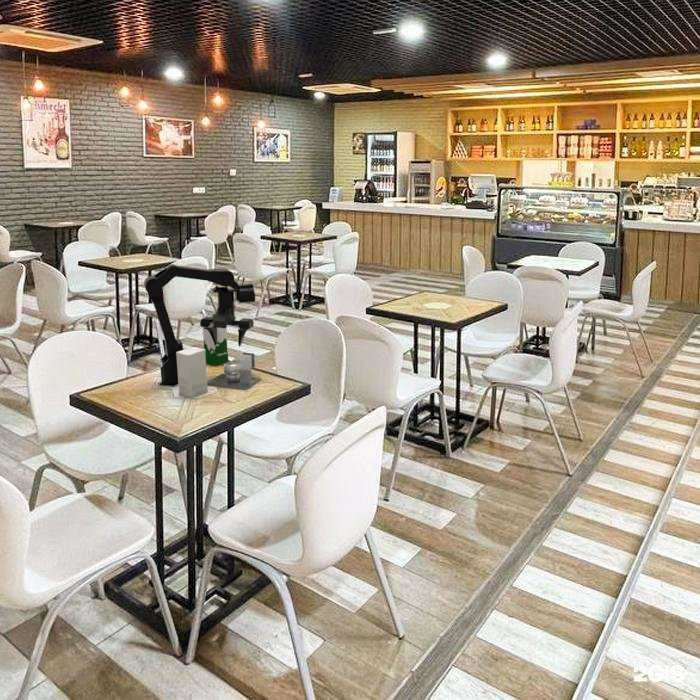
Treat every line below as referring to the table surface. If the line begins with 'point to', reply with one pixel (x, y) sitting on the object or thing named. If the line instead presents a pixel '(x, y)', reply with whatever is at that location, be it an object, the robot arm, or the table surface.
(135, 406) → the table surface
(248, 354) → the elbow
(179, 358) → the skincare box
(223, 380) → the base
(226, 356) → the milk carton
